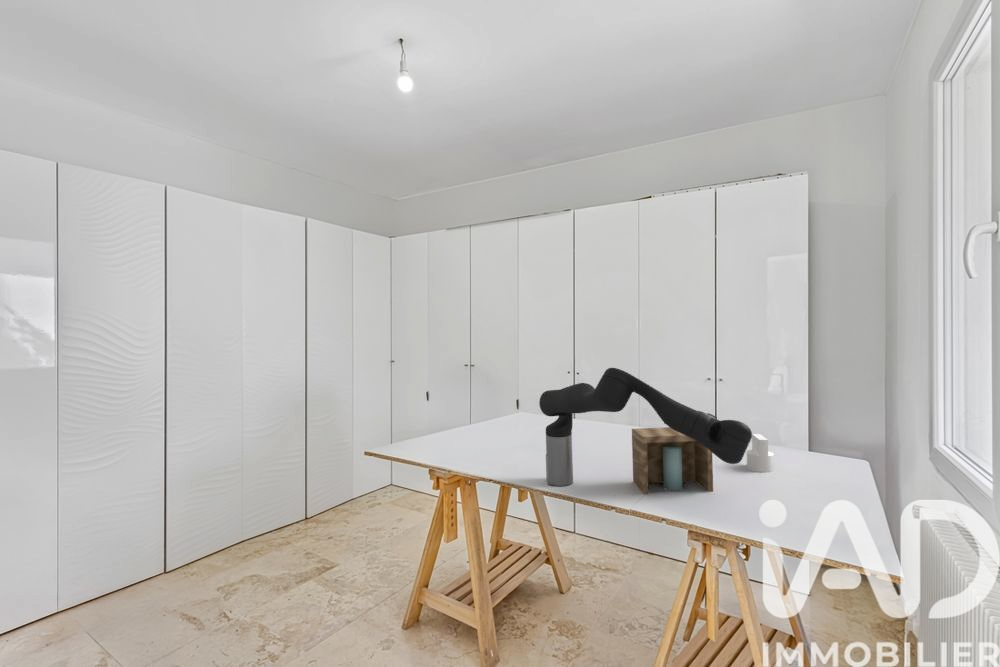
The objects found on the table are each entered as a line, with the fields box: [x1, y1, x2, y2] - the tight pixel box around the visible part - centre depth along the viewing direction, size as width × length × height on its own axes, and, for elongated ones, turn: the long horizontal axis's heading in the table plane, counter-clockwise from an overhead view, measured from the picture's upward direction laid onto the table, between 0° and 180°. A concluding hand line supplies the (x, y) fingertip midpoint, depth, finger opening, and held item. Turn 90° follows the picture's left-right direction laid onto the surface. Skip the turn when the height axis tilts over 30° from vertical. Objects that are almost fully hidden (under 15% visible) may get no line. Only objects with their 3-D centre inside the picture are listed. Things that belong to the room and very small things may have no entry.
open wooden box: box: [631, 426, 714, 495], centre depth 165 cm, size 23×12×19 cm, turn 91°
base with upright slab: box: [746, 433, 775, 474], centre depth 181 cm, size 9×9×12 cm
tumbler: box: [662, 445, 683, 492], centre depth 164 cm, size 6×6×14 cm
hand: (680, 415), depth 153 cm, fingers open, 8 cm apart
